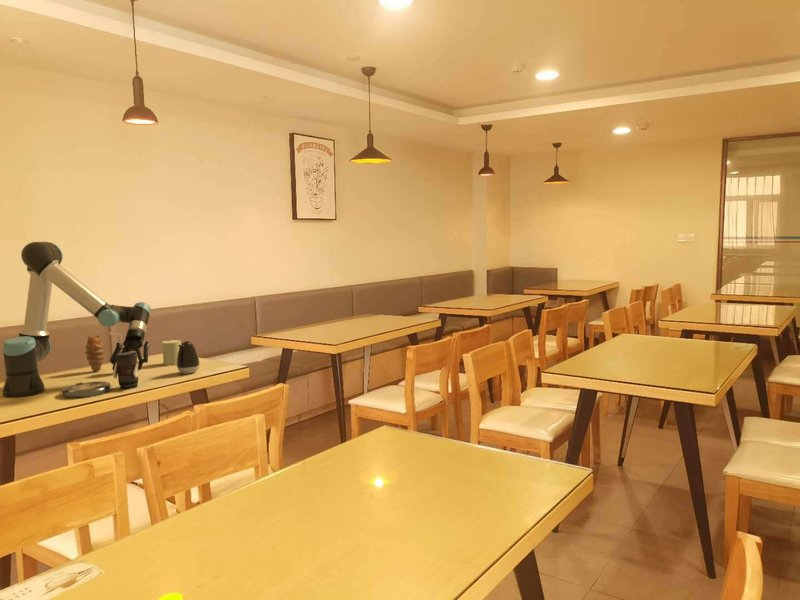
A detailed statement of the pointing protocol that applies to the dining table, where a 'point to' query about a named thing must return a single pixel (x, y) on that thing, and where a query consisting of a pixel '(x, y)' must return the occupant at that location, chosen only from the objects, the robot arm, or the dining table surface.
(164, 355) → the pale green cup
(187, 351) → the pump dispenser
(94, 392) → the plate
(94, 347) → the croissant
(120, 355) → the camera lens
